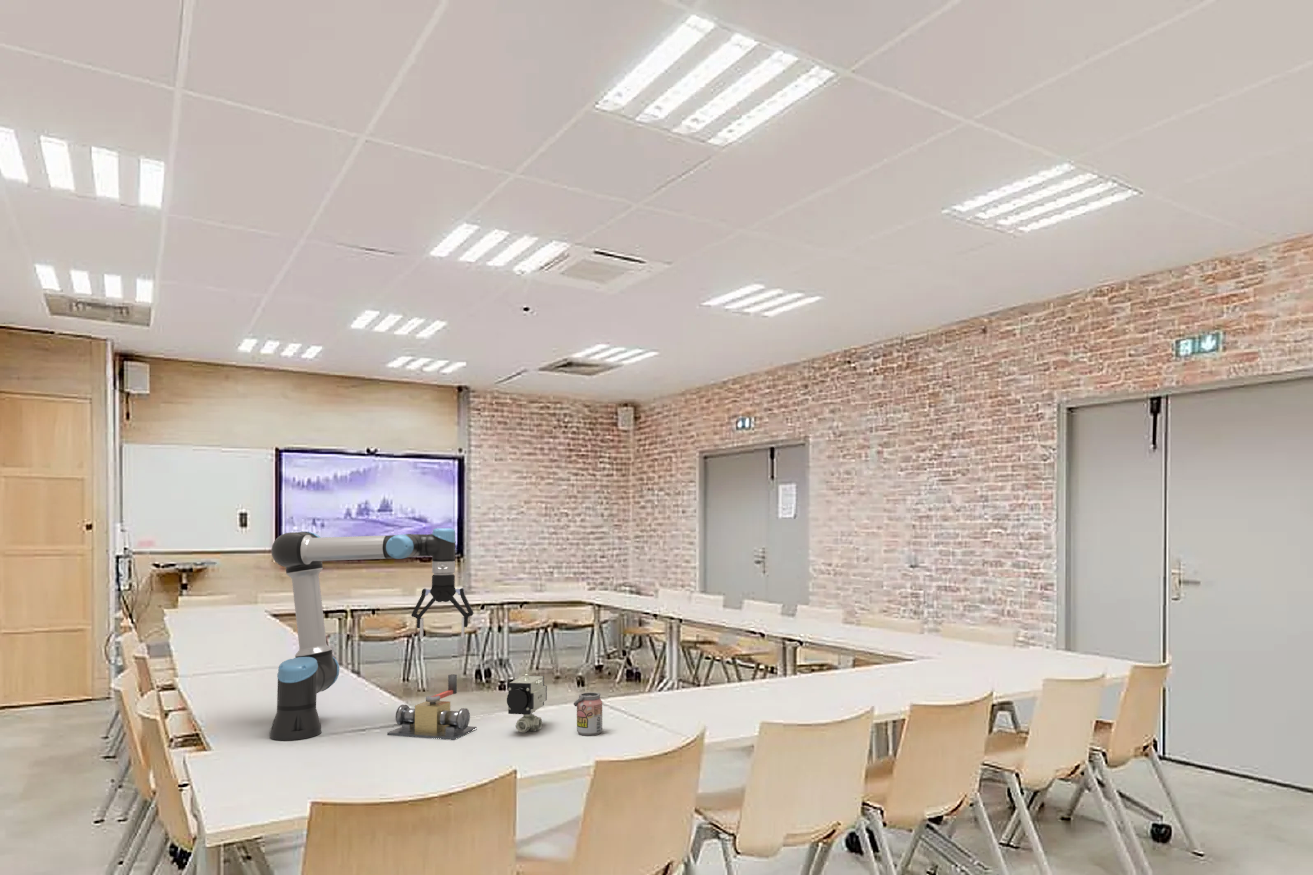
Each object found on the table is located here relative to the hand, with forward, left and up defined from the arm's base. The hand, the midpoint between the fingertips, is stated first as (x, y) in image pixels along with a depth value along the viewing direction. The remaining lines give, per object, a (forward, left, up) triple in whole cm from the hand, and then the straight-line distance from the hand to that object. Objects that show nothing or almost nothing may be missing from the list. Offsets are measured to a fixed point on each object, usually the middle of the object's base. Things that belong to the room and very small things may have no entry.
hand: (442, 637), depth 286 cm
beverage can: (+52, +2, -29) cm, 59 cm away
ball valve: (+32, 0, -29) cm, 43 cm away
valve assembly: (+3, -10, -28) cm, 30 cm away
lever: (+3, -4, -18) cm, 19 cm away
